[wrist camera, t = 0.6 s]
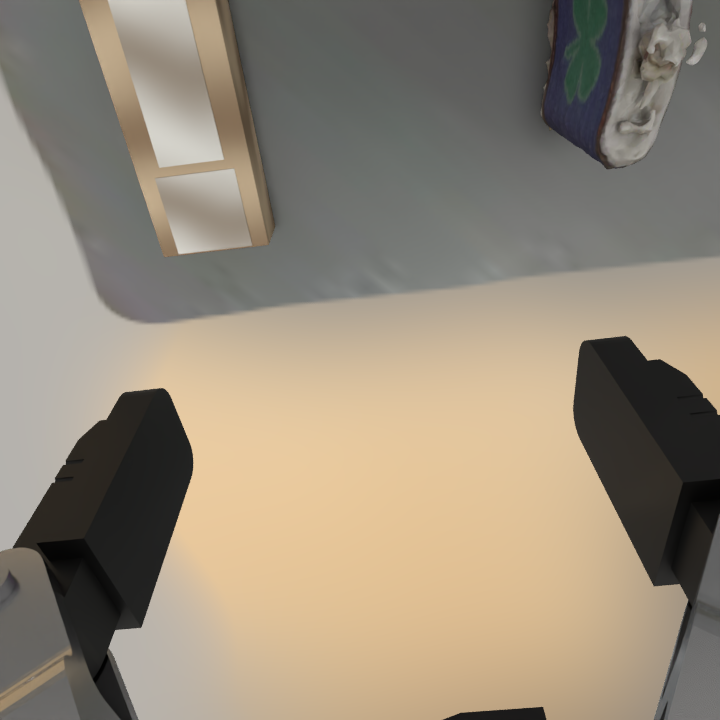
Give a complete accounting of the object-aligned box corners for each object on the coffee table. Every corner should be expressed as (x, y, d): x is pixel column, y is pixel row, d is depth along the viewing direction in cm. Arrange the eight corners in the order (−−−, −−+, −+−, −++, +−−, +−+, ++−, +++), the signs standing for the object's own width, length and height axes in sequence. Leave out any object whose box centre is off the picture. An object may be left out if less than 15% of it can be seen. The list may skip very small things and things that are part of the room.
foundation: (90, -44, 26) (61, -50, 23) (214, -63, 26) (199, -71, 23) (178, 238, 34) (163, 257, 31) (275, 226, 33) (268, 245, 31)
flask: (554, -78, 26) (664, -121, 17) (618, -84, 25) (764, -132, 16) (535, 133, 31) (612, 188, 22) (589, 129, 30) (688, 181, 21)
